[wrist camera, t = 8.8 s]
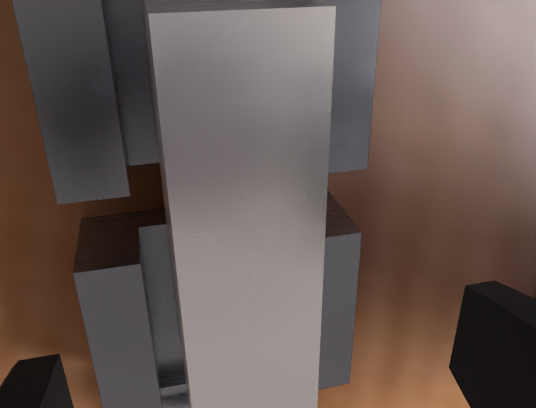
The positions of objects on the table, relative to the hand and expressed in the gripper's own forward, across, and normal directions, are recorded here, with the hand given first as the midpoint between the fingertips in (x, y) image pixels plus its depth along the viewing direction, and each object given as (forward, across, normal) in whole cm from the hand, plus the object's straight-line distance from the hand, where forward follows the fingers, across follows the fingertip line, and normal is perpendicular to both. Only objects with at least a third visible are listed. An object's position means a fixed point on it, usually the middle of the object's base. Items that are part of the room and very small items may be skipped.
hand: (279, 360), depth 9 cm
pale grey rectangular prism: (+7, 0, 0) cm, 7 cm away
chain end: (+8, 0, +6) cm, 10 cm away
